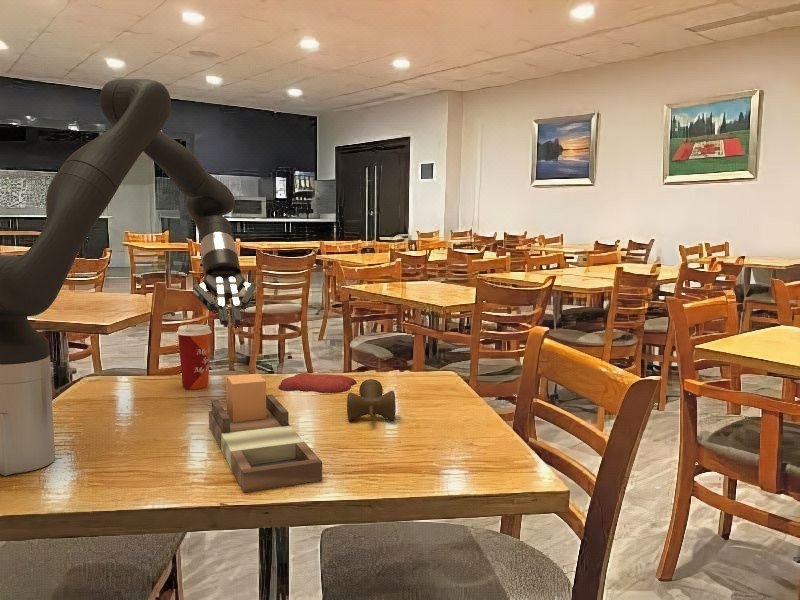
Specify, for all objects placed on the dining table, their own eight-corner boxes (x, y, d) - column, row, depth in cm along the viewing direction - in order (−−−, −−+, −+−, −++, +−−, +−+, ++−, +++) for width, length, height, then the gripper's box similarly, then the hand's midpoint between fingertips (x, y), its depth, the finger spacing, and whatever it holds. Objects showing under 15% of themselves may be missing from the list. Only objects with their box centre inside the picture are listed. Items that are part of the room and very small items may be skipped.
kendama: (393, 402, 148) (397, 429, 128) (349, 403, 148) (346, 431, 128) (393, 375, 148) (396, 398, 128) (348, 376, 147) (345, 400, 127)
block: (226, 412, 127) (226, 376, 126) (258, 409, 129) (258, 373, 128) (233, 422, 121) (232, 384, 120) (266, 418, 124) (265, 381, 123)
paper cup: (207, 391, 152) (205, 330, 150) (173, 390, 152) (171, 329, 150) (217, 382, 159) (216, 324, 158) (184, 381, 160) (183, 323, 158)
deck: (209, 426, 128) (208, 398, 127) (272, 419, 133) (271, 392, 132) (243, 492, 99) (242, 456, 98) (322, 480, 104) (322, 446, 103)
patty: (271, 392, 154) (271, 383, 154) (291, 377, 168) (291, 369, 167) (346, 396, 151) (346, 388, 151) (360, 381, 165) (360, 373, 165)
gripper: (188, 247, 139) (197, 315, 130) (254, 246, 145) (268, 311, 135) (185, 270, 145) (194, 337, 135) (249, 269, 150) (262, 333, 141)
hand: (231, 324), depth 135 cm, fingers closed
